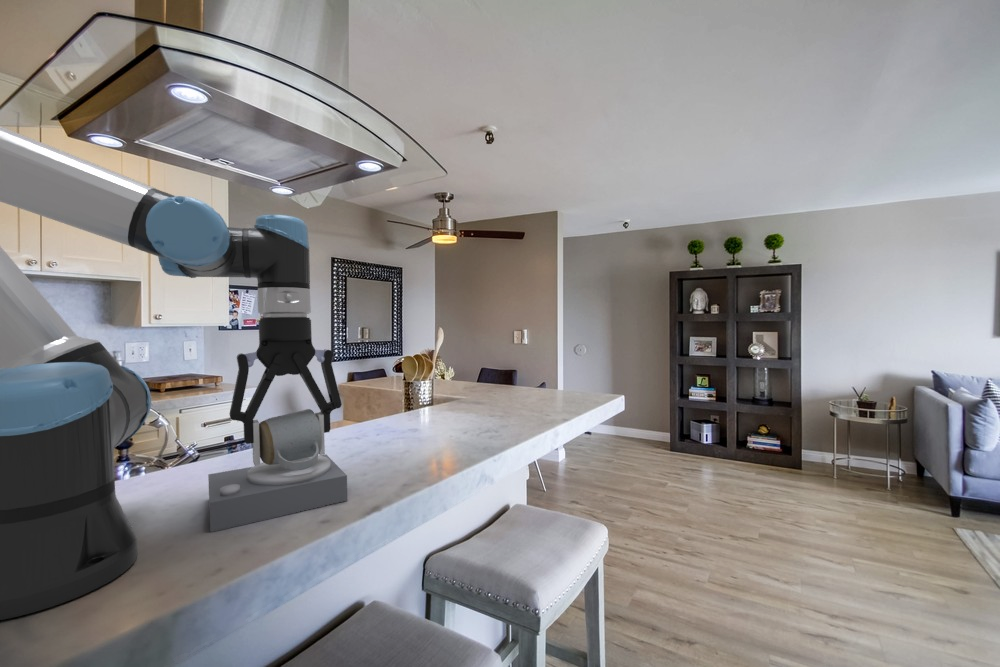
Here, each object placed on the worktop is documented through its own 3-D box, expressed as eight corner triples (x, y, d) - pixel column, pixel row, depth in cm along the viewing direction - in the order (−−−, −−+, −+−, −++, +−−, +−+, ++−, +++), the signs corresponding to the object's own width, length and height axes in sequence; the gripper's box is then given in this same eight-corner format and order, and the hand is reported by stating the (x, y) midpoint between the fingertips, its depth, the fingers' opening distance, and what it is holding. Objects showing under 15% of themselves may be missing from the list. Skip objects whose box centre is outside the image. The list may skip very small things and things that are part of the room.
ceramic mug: (254, 461, 72) (252, 413, 72) (306, 449, 78) (304, 405, 78) (277, 478, 65) (274, 425, 64) (332, 464, 71) (331, 415, 70)
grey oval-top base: (210, 532, 61) (209, 495, 60) (209, 498, 73) (208, 467, 72) (347, 500, 71) (346, 469, 70) (326, 475, 82) (325, 448, 82)
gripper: (204, 316, 63) (210, 478, 63) (360, 315, 74) (363, 451, 75) (204, 317, 69) (209, 464, 70) (347, 316, 81) (351, 442, 81)
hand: (289, 457), depth 72 cm, fingers closed on ceramic mug, 9 cm apart
